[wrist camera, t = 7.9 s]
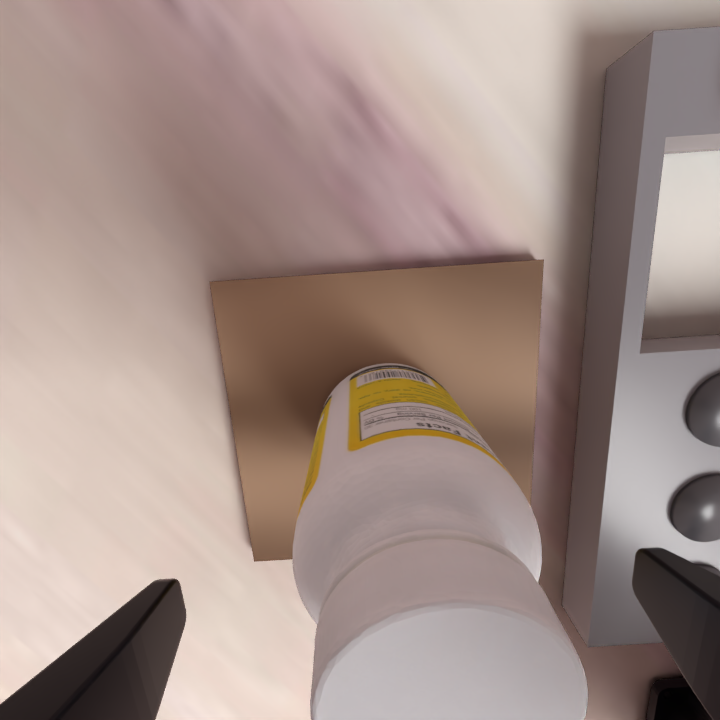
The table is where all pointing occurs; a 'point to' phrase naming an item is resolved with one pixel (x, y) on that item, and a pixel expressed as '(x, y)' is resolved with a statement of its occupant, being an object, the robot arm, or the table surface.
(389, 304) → the walnut pad
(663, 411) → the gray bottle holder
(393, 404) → the supplement bottle
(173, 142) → the table surface
